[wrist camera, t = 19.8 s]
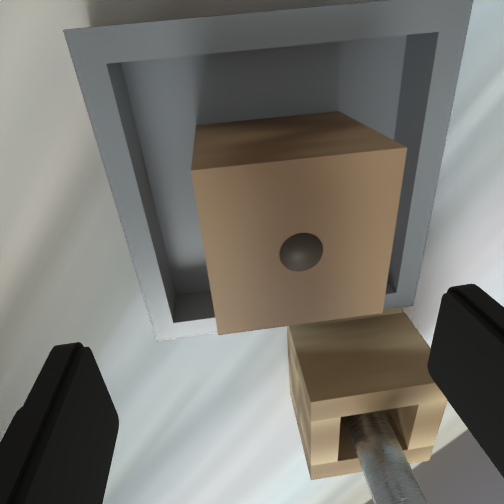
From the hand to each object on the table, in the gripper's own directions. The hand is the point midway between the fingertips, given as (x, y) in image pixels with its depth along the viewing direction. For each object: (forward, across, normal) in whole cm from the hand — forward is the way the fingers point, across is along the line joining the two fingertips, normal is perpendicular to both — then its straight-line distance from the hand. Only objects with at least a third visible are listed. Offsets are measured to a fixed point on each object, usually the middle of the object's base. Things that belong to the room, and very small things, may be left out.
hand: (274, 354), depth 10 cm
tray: (+9, -2, -2) cm, 10 cm away
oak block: (+10, -6, +11) cm, 16 cm away
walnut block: (+9, -2, -2) cm, 9 cm away
